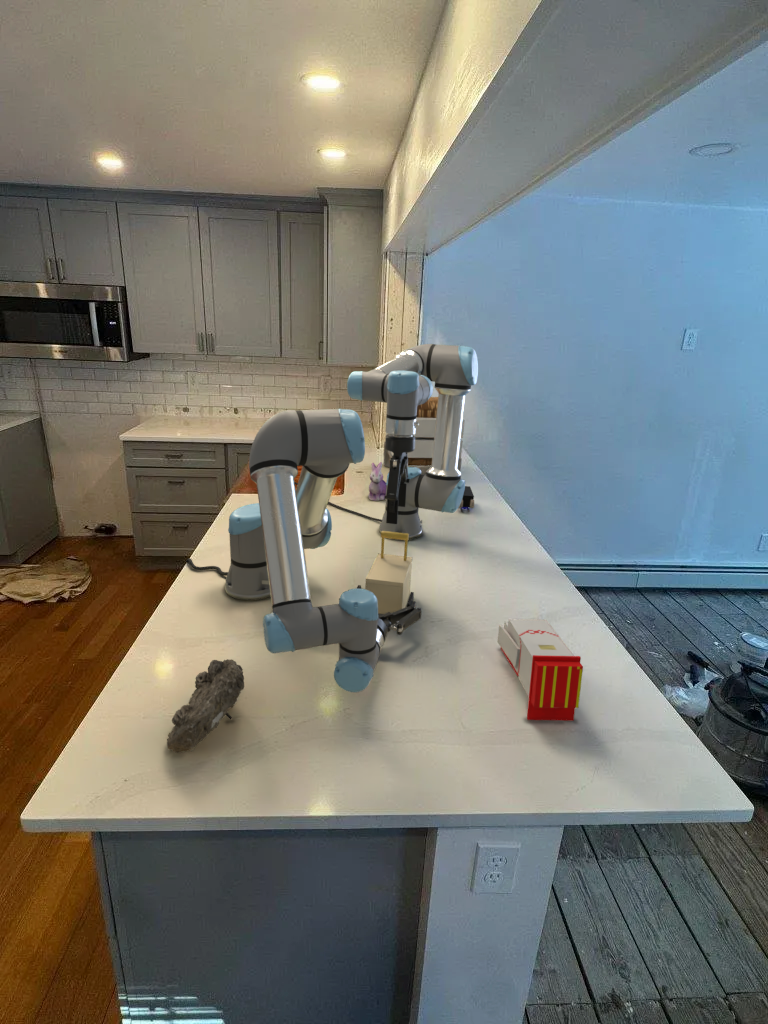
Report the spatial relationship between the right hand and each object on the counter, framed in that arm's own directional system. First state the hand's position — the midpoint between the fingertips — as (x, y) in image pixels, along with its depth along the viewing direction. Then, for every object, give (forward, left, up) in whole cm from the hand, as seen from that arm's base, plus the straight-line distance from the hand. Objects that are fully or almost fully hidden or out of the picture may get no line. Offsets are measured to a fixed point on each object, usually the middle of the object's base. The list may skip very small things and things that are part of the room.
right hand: (396, 514), depth 149 cm
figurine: (-67, +51, -24) cm, 88 cm away
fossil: (+16, -60, -24) cm, 67 cm away
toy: (+47, -1, -24) cm, 53 cm away
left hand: (+7, -9, -17) cm, 21 cm away
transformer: (-85, +93, -24) cm, 128 cm away
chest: (+4, -5, -24) cm, 24 cm away
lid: (+3, -4, -14) cm, 15 cm away
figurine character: (-38, +72, -24) cm, 85 cm away
